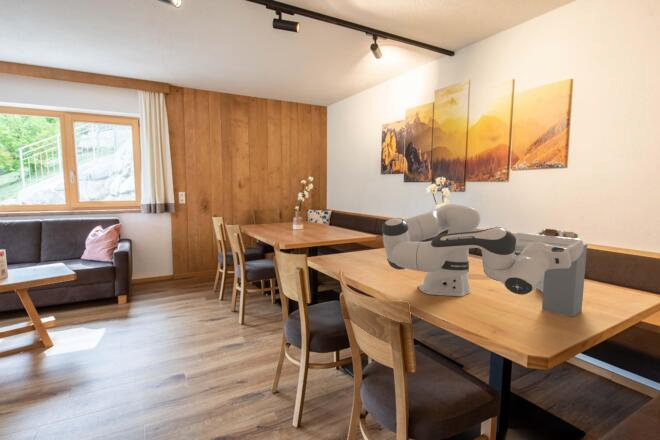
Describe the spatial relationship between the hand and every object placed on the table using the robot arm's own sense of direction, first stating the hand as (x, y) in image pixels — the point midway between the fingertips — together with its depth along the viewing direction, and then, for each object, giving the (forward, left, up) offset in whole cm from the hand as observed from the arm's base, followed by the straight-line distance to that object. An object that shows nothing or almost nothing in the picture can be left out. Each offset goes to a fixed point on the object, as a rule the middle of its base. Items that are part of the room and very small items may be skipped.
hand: (553, 231), depth 114 cm
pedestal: (+12, +11, -32) cm, 36 cm away
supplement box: (+23, +35, -32) cm, 52 cm away
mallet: (+4, +3, -4) cm, 6 cm away
